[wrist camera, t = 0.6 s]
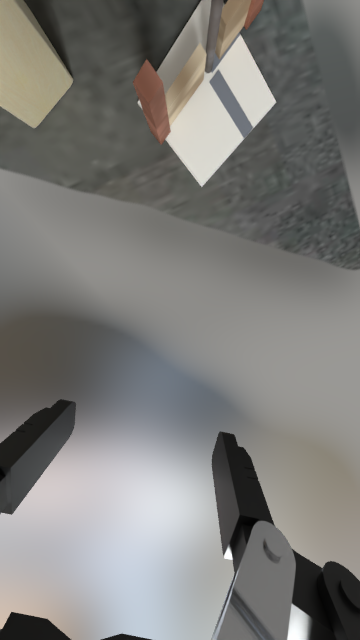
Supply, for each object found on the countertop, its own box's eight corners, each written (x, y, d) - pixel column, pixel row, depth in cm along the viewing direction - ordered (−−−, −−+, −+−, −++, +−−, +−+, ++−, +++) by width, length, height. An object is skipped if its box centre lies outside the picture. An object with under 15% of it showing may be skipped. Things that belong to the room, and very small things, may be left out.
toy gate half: (195, 67, 21) (201, -33, 13) (205, 83, 21) (217, -3, 13) (150, 131, 23) (132, 82, 15) (161, 144, 24) (148, 103, 16)
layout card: (138, 104, 23) (137, 101, 22) (212, -14, 19) (212, -19, 18) (201, 187, 27) (201, 186, 26) (274, 103, 23) (276, 101, 22)
